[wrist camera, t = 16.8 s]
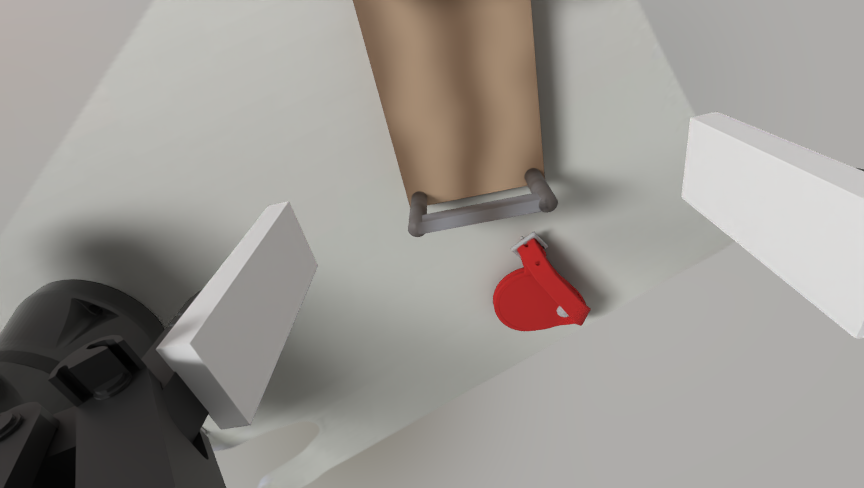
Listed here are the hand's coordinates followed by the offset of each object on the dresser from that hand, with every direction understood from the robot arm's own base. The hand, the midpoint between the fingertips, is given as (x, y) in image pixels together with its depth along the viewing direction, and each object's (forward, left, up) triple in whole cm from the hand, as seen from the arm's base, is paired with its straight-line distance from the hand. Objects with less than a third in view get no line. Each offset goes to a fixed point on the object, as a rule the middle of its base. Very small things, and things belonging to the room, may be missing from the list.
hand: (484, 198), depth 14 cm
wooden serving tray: (0, 0, -23) cm, 23 cm away
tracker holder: (+1, -19, -21) cm, 28 cm away
